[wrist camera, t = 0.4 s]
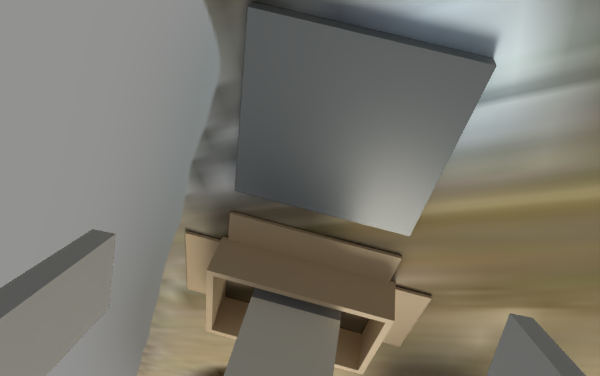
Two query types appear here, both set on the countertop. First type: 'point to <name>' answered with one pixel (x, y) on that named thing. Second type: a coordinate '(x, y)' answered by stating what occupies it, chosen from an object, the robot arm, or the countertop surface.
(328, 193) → the board
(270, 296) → the box
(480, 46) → the countertop surface
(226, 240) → the carton
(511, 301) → the countertop surface
